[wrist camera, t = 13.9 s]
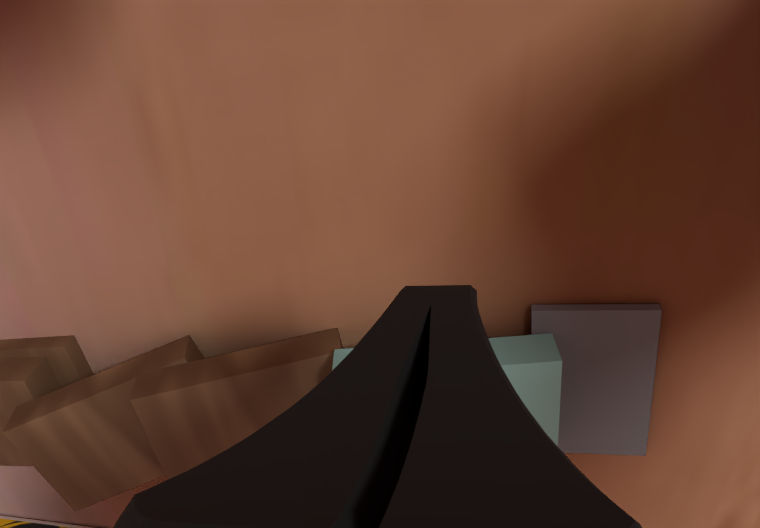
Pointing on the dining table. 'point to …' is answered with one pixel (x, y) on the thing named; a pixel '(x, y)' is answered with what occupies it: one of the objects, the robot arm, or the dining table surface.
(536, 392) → the teal tile
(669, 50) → the dining table surface
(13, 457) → the domino
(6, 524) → the medicine bottle
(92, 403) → the domino
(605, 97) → the dining table surface
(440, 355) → the robot arm
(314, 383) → the domino
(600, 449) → the slot pad
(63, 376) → the domino
